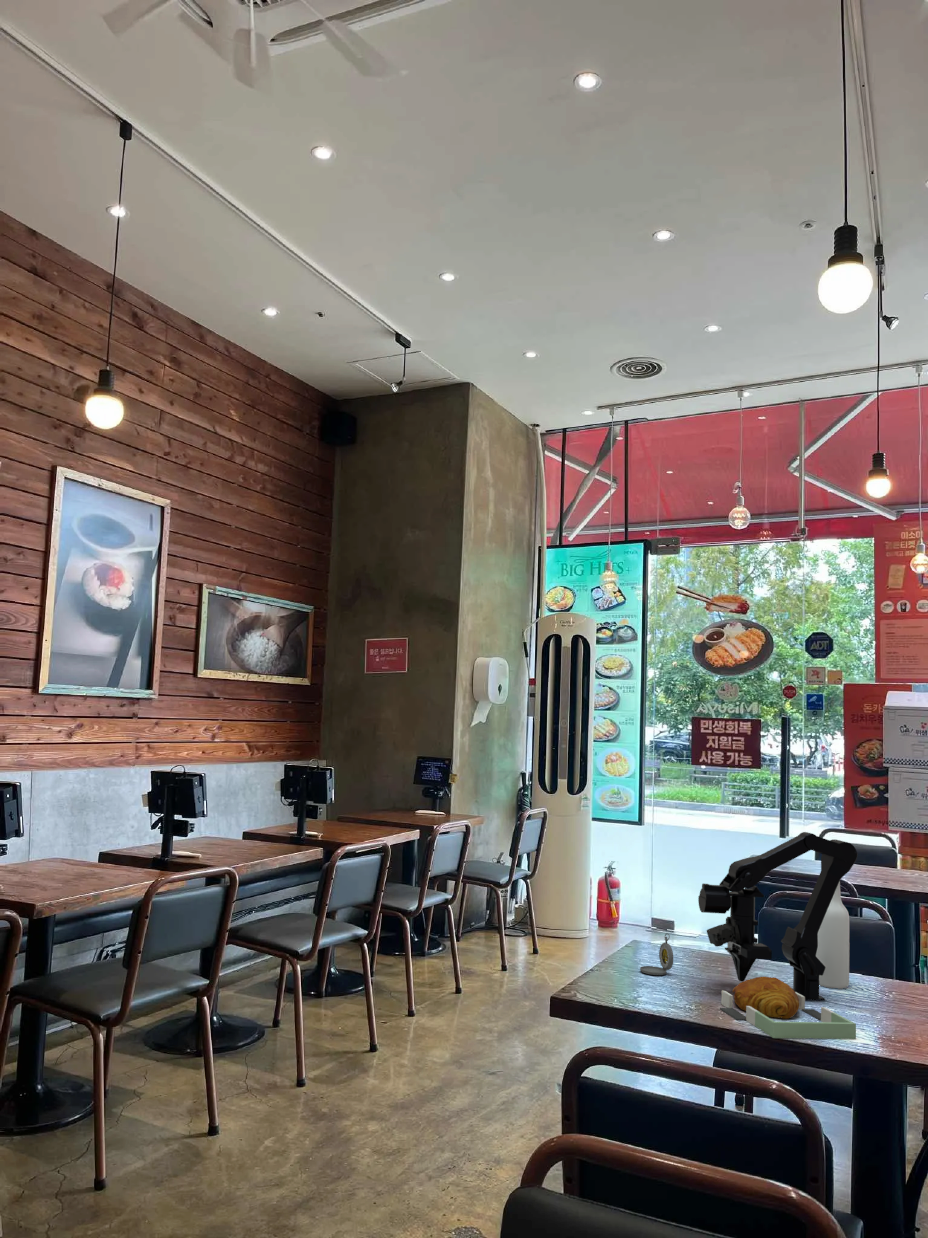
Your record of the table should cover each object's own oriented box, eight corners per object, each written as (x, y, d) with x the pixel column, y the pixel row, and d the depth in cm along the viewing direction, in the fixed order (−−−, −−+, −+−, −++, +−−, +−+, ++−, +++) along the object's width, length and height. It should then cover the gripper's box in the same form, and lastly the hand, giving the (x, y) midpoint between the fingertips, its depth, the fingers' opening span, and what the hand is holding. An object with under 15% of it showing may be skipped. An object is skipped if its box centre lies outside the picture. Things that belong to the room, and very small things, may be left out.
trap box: (712, 1004, 210) (712, 990, 210) (804, 1005, 213) (804, 992, 214) (763, 1038, 186) (763, 1022, 187) (865, 1039, 190) (865, 1024, 190)
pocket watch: (635, 972, 235) (636, 932, 237) (652, 968, 241) (653, 929, 243) (663, 979, 230) (664, 938, 231) (679, 974, 236) (681, 934, 237)
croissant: (794, 1015, 213) (795, 979, 215) (802, 1024, 199) (803, 985, 201) (730, 1005, 217) (731, 969, 219) (734, 1013, 202) (735, 975, 204)
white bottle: (850, 991, 229) (851, 869, 233) (813, 986, 232) (814, 866, 236) (847, 983, 238) (848, 865, 242) (811, 978, 240) (813, 862, 244)
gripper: (695, 906, 230) (693, 970, 228) (729, 921, 212) (727, 991, 210) (736, 908, 232) (735, 971, 230) (773, 923, 214) (772, 992, 212)
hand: (741, 981), depth 221 cm, fingers closed
